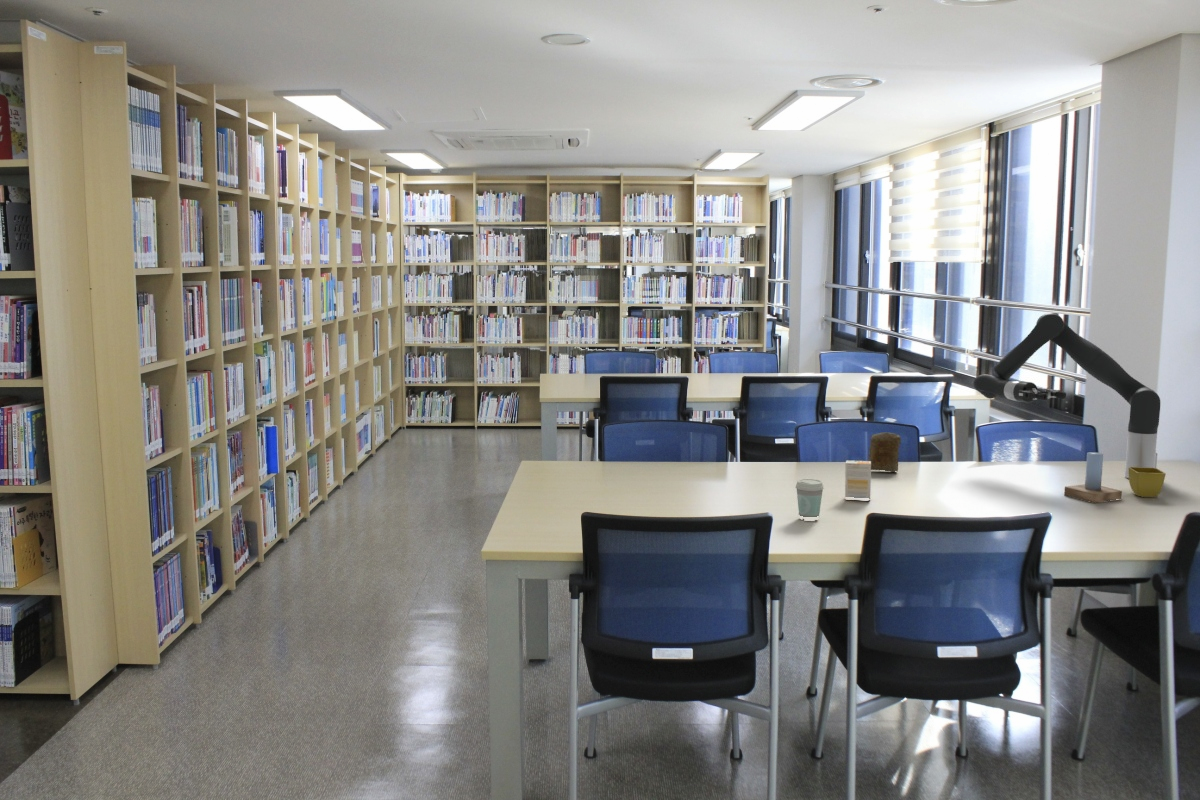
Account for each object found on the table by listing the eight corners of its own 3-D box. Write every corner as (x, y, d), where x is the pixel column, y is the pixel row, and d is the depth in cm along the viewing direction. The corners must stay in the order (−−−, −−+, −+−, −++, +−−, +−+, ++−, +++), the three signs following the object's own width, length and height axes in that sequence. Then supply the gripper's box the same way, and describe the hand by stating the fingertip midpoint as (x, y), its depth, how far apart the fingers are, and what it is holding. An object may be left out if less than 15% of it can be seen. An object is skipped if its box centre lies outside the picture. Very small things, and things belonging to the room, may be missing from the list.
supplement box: (870, 498, 307) (871, 460, 305) (869, 502, 302) (871, 463, 301) (845, 497, 310) (846, 459, 308) (844, 500, 305) (845, 462, 303)
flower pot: (1164, 499, 302) (1166, 473, 301) (1135, 498, 304) (1137, 472, 302) (1153, 493, 310) (1155, 467, 309) (1126, 492, 312) (1127, 466, 311)
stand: (1090, 492, 313) (1091, 483, 313) (1121, 499, 302) (1121, 491, 301) (1064, 495, 309) (1064, 486, 308) (1094, 503, 298) (1095, 494, 297)
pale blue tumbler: (1092, 486, 308) (1094, 451, 307) (1104, 489, 304) (1106, 454, 302) (1081, 487, 306) (1083, 452, 305) (1093, 490, 302) (1095, 455, 301)
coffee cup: (791, 516, 286) (792, 478, 284) (817, 515, 287) (818, 478, 285) (799, 523, 277) (800, 485, 276) (826, 522, 278) (827, 484, 276)
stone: (865, 472, 348) (866, 433, 346) (872, 467, 356) (873, 430, 354) (895, 475, 342) (896, 436, 340) (901, 470, 350) (902, 432, 348)
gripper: (1005, 382, 332) (1041, 386, 317) (1035, 380, 337) (1072, 384, 321) (1004, 402, 333) (1040, 408, 318) (1034, 400, 338) (1070, 405, 322)
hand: (1056, 396), depth 320 cm, fingers open, 8 cm apart
